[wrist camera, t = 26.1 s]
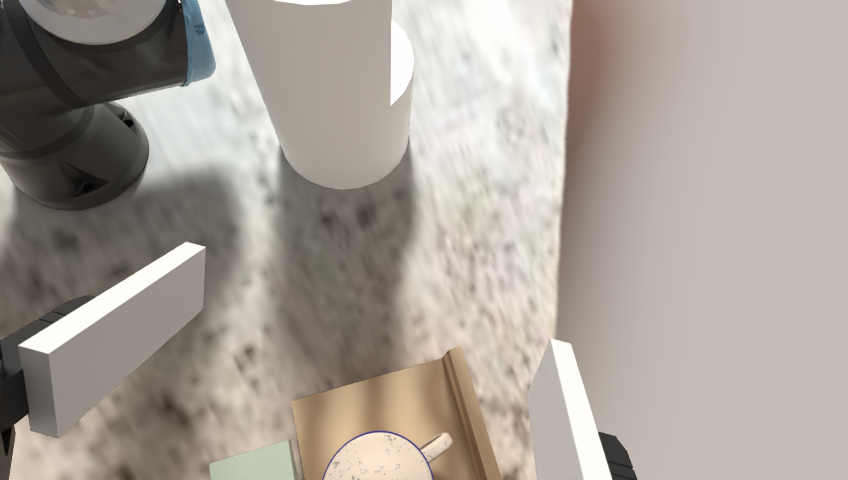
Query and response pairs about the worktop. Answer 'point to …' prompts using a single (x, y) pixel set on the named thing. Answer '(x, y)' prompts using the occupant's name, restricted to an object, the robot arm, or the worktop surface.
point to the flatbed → (401, 418)
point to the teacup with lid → (386, 457)
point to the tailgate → (257, 464)
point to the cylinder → (331, 84)
